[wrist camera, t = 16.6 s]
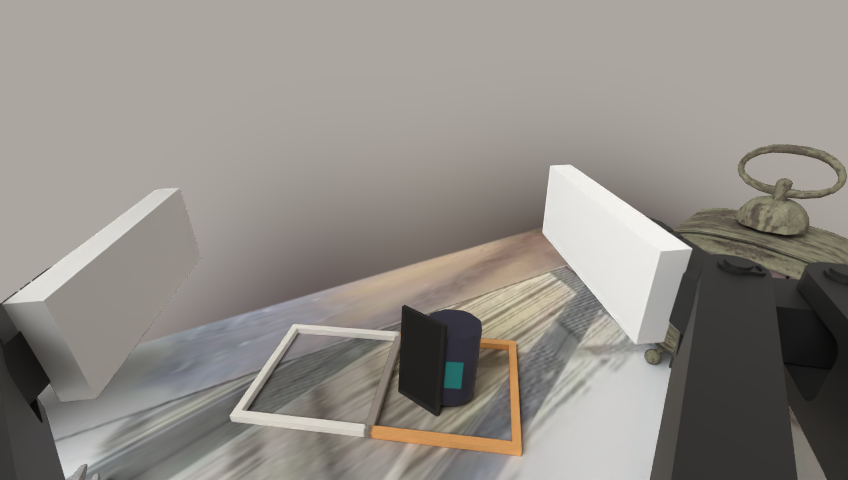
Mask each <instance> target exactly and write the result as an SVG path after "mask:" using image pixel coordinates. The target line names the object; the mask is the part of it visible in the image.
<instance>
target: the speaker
mask: <svg viewBox="0 0 848 480" xmlns="http://www.w3.org/2000/svg"><path fill="white" fill-rule="evenodd" d="M481 334H482V326H481V321H480V320H479V319H478V318H476V317H475V316H473V315H472V314H471V313H468V312H465V311H461V310H449V309H445V310H441V311H437V312H434V313H431V314H430V315H429V316H427V315H425V314H423V313H421V312H418V311H416V310H414V309H412V308H410V307H408V306H406V305H404V306H402V321H401V343H400V365H399V387H398V392H400V393H401V394H403V395H404V396H406V397H407V398H409V399H411V400H412V401H414V402H415V403H417V404H418V405H420V406H421V407H423V408H425V409H426V410H428V411H429V412H431V413H432V414H434V415H435V416H439V415H440V405H447V406H458V405H460V404H462V403H465V402H467V401H470V399H471V398H472V397H473V394H474V387H475V379H476V372H477V364H478V357H479V349H480V341H481Z"/></svg>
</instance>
